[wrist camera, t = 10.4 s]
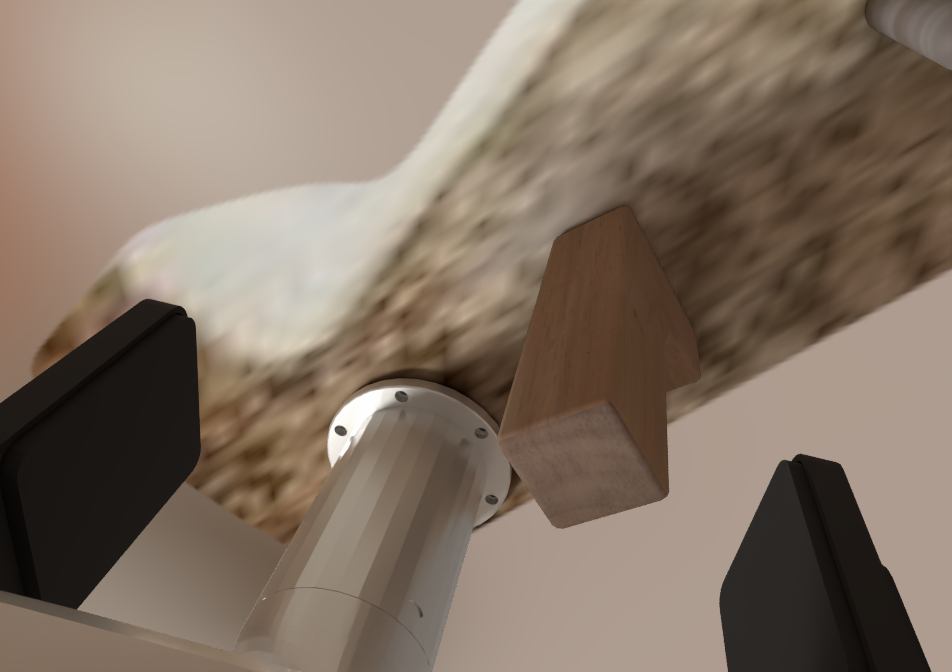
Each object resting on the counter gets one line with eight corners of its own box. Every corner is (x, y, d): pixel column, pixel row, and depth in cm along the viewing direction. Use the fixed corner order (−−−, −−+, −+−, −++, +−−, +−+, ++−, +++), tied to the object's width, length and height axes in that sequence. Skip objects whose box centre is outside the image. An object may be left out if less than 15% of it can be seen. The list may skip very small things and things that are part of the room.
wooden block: (699, 337, 41) (728, 592, 26) (625, 365, 43) (611, 619, 27) (627, 200, 38) (612, 398, 22) (551, 237, 40) (490, 442, 24)
